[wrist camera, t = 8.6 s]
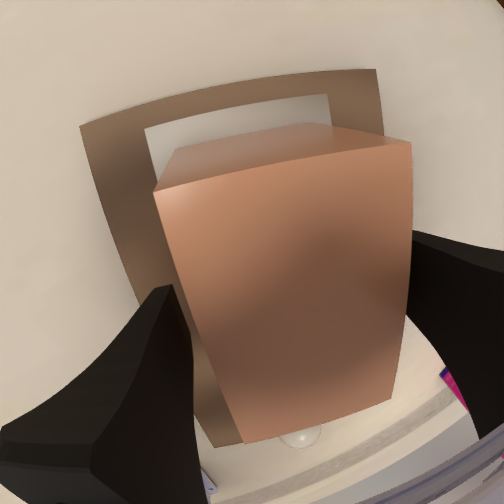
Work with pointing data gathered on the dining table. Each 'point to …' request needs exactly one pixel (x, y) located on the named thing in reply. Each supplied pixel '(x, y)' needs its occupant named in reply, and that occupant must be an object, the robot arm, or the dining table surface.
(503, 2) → the mug
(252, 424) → the terracotta cover
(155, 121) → the walnut board
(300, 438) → the cream marble
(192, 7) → the dining table surface
